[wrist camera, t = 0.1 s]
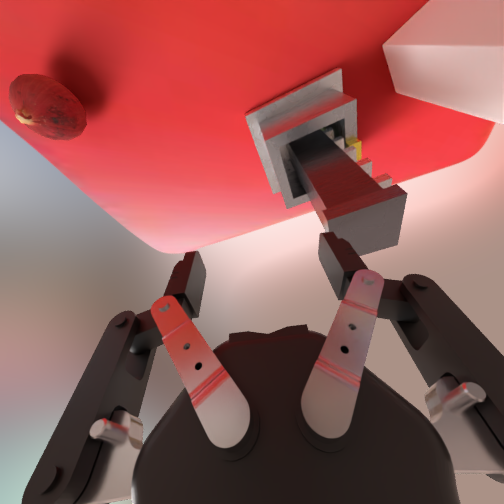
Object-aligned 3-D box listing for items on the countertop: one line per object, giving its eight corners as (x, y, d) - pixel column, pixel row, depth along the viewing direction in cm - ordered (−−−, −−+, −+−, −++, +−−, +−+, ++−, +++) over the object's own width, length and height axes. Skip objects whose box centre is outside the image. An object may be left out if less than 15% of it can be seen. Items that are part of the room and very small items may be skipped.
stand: (244, 113, 27) (249, 136, 20) (336, 67, 24) (377, 76, 17) (272, 189, 35) (281, 223, 28) (342, 161, 32) (371, 191, 26)
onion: (95, 85, 24) (53, 98, 18) (100, 136, 27) (67, 160, 22) (31, 60, 22) (-37, 65, 16) (46, 118, 25) (-5, 139, 20)
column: (279, 133, 27) (327, 220, 14) (320, 114, 26) (416, 190, 13) (288, 167, 30) (334, 263, 17) (325, 152, 29) (404, 242, 16)
